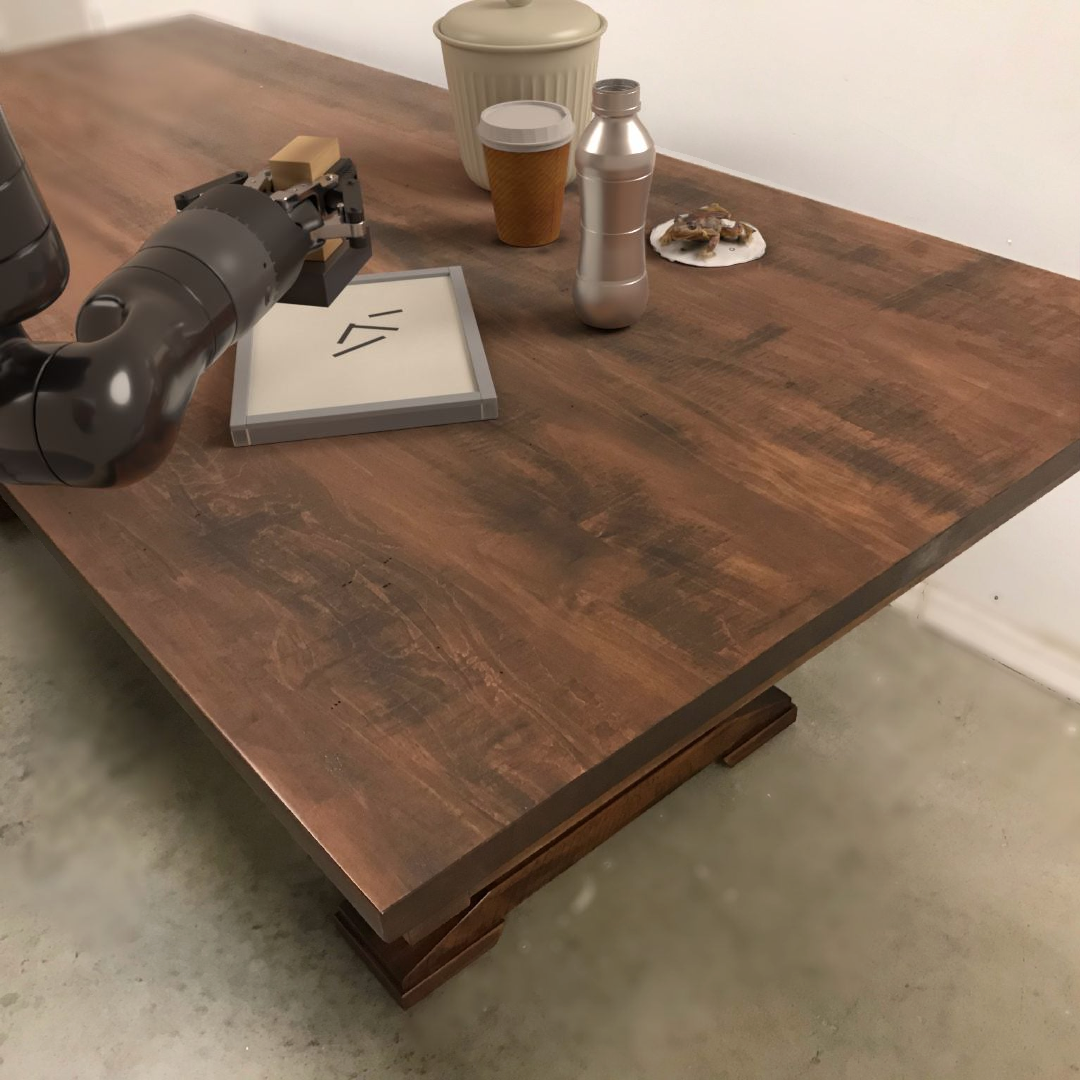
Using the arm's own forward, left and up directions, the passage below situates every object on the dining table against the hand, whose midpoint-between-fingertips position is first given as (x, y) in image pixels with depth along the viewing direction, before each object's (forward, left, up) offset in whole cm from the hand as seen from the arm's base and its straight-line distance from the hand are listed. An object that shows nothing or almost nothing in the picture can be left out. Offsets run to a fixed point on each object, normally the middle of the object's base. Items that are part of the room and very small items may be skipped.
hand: (324, 170), depth 79 cm
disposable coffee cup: (+19, +26, -18) cm, 37 cm away
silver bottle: (+23, +6, -18) cm, 29 cm away
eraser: (-1, -3, -7) cm, 8 cm away
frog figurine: (+36, +20, -18) cm, 45 cm away
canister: (+21, +41, -18) cm, 49 cm away
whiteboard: (+1, +4, -17) cm, 18 cm away
